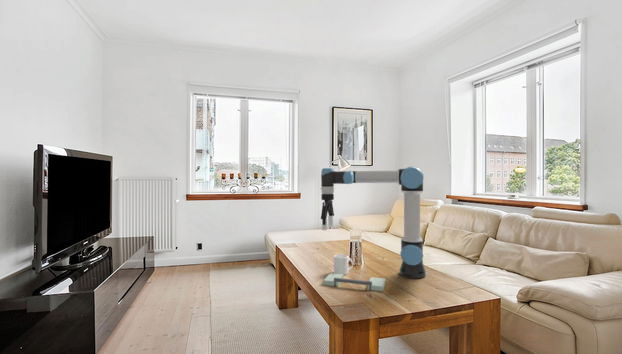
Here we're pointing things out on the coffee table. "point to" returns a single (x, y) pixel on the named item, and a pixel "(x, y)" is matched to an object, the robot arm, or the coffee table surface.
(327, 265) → the coffee table surface
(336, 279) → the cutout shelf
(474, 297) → the coffee table surface
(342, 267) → the mug
